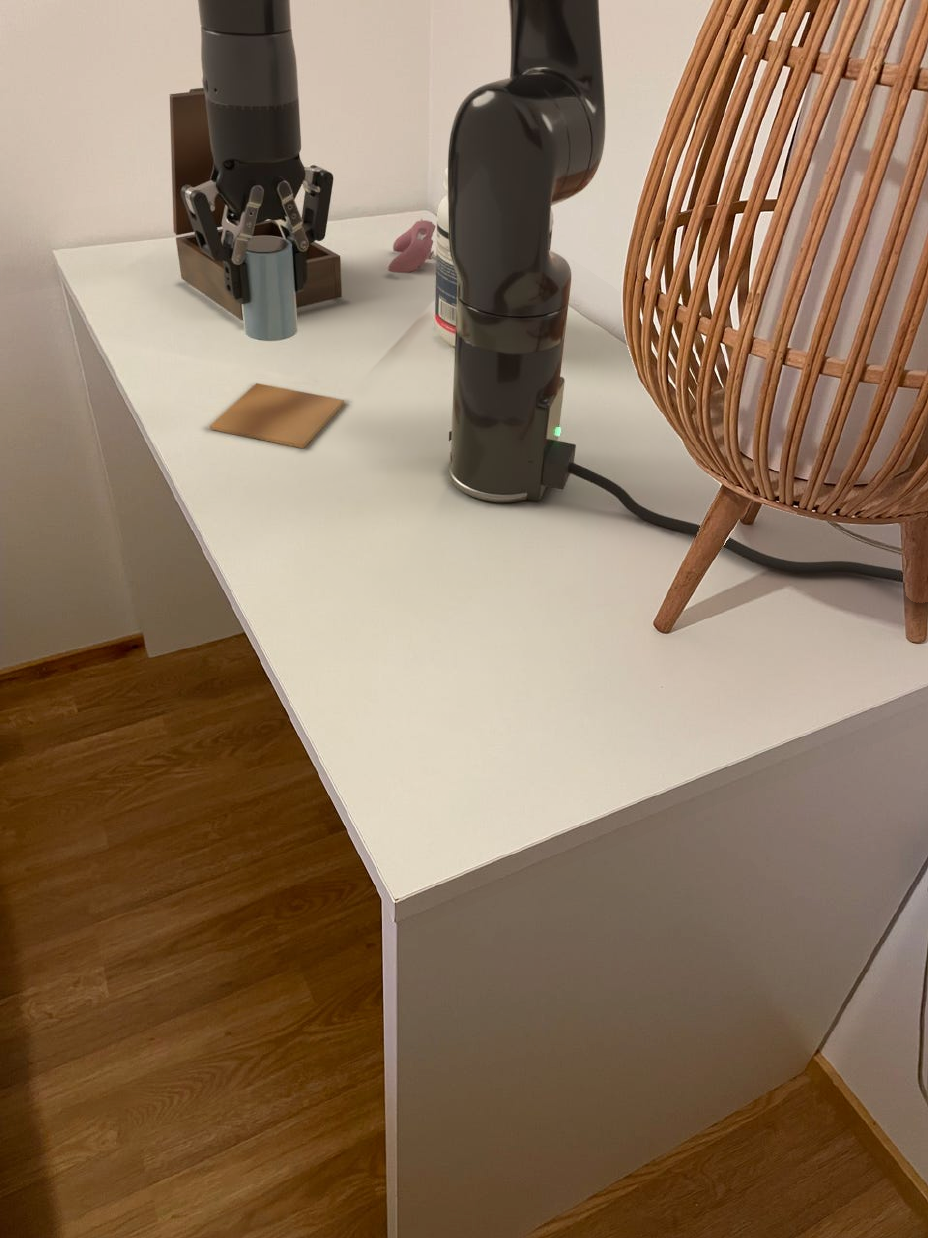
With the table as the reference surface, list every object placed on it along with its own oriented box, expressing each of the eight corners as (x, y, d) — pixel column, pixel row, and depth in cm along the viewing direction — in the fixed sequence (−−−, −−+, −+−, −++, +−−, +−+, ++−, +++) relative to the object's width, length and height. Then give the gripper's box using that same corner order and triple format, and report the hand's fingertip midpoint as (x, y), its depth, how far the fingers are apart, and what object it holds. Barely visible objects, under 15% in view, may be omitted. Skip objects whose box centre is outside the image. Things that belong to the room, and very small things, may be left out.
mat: (344, 403, 101) (344, 399, 101) (303, 448, 93) (303, 444, 93) (256, 386, 103) (256, 382, 103) (209, 429, 95) (209, 425, 95)
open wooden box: (342, 303, 121) (340, 255, 117) (242, 327, 114) (237, 277, 110) (277, 264, 130) (274, 218, 127) (182, 284, 123) (175, 237, 120)
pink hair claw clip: (416, 291, 129) (441, 244, 125) (385, 274, 128) (409, 226, 124) (419, 264, 137) (443, 219, 133) (390, 248, 135) (413, 202, 131)
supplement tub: (545, 319, 120) (561, 160, 108) (538, 364, 110) (555, 194, 98) (441, 310, 121) (446, 150, 109) (425, 353, 111) (429, 183, 99)
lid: (283, 84, 113) (261, 65, 115) (172, 97, 106) (152, 75, 108) (275, 216, 126) (256, 196, 128) (176, 235, 119) (157, 213, 121)
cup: (306, 324, 94) (301, 239, 89) (283, 344, 90) (276, 256, 85) (259, 315, 95) (251, 230, 90) (234, 335, 91) (225, 248, 86)
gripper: (191, 110, 74) (217, 326, 85) (351, 91, 81) (355, 292, 92) (148, 89, 78) (178, 297, 89) (303, 73, 85) (313, 267, 96)
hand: (268, 294), depth 90 cm, fingers closed on cup, 5 cm apart
